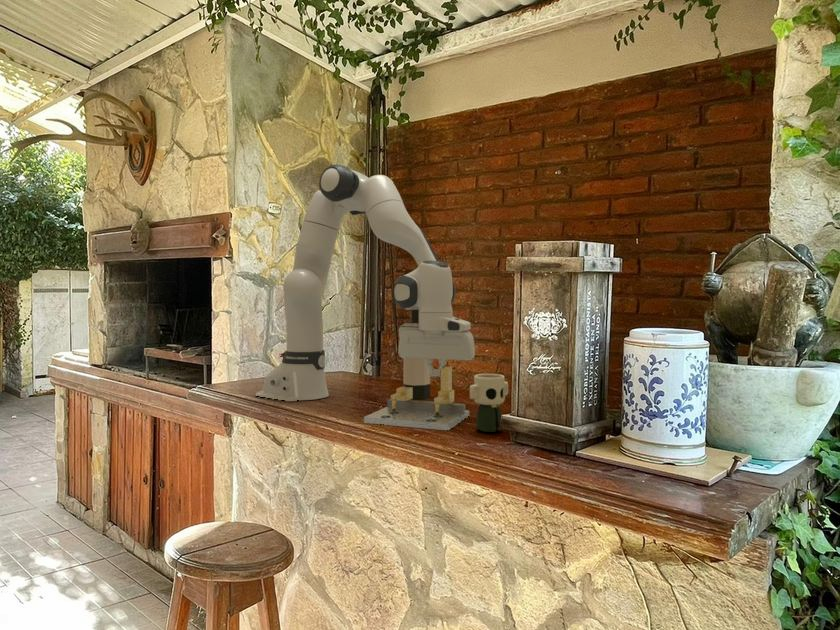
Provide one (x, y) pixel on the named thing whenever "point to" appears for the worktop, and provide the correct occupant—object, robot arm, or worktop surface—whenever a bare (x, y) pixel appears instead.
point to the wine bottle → (416, 371)
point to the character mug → (489, 400)
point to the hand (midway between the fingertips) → (436, 376)
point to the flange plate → (417, 412)
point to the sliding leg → (445, 389)
